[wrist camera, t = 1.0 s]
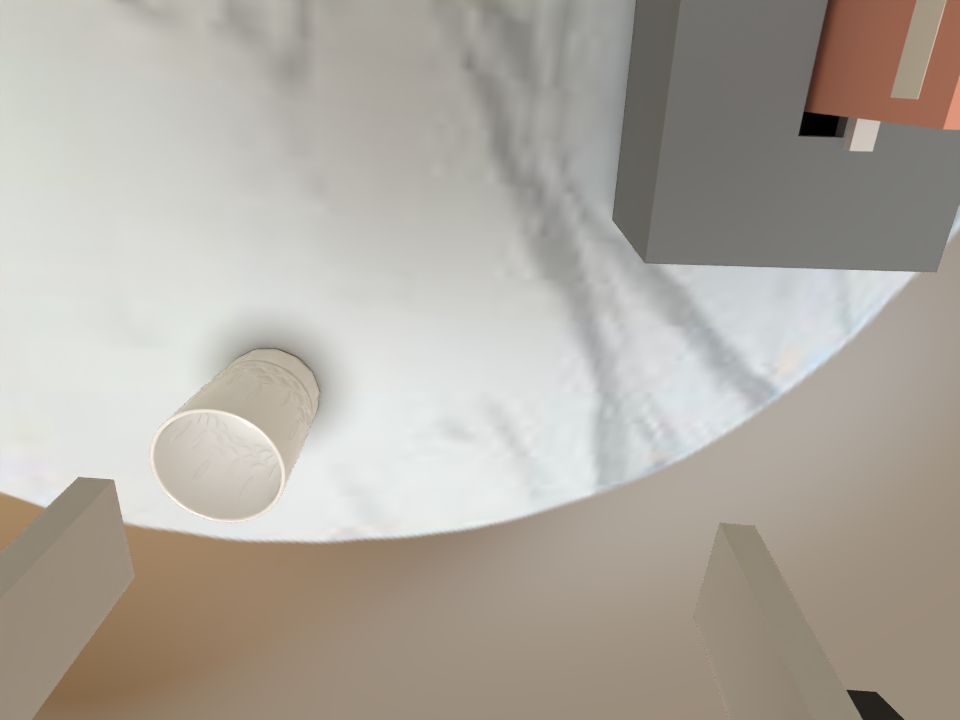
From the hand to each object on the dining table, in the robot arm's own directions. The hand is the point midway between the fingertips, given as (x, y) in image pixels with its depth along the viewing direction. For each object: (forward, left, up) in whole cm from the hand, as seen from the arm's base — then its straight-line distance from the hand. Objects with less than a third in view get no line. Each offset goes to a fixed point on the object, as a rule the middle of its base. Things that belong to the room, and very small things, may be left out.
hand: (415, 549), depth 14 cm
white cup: (+12, -14, -30) cm, 35 cm away
